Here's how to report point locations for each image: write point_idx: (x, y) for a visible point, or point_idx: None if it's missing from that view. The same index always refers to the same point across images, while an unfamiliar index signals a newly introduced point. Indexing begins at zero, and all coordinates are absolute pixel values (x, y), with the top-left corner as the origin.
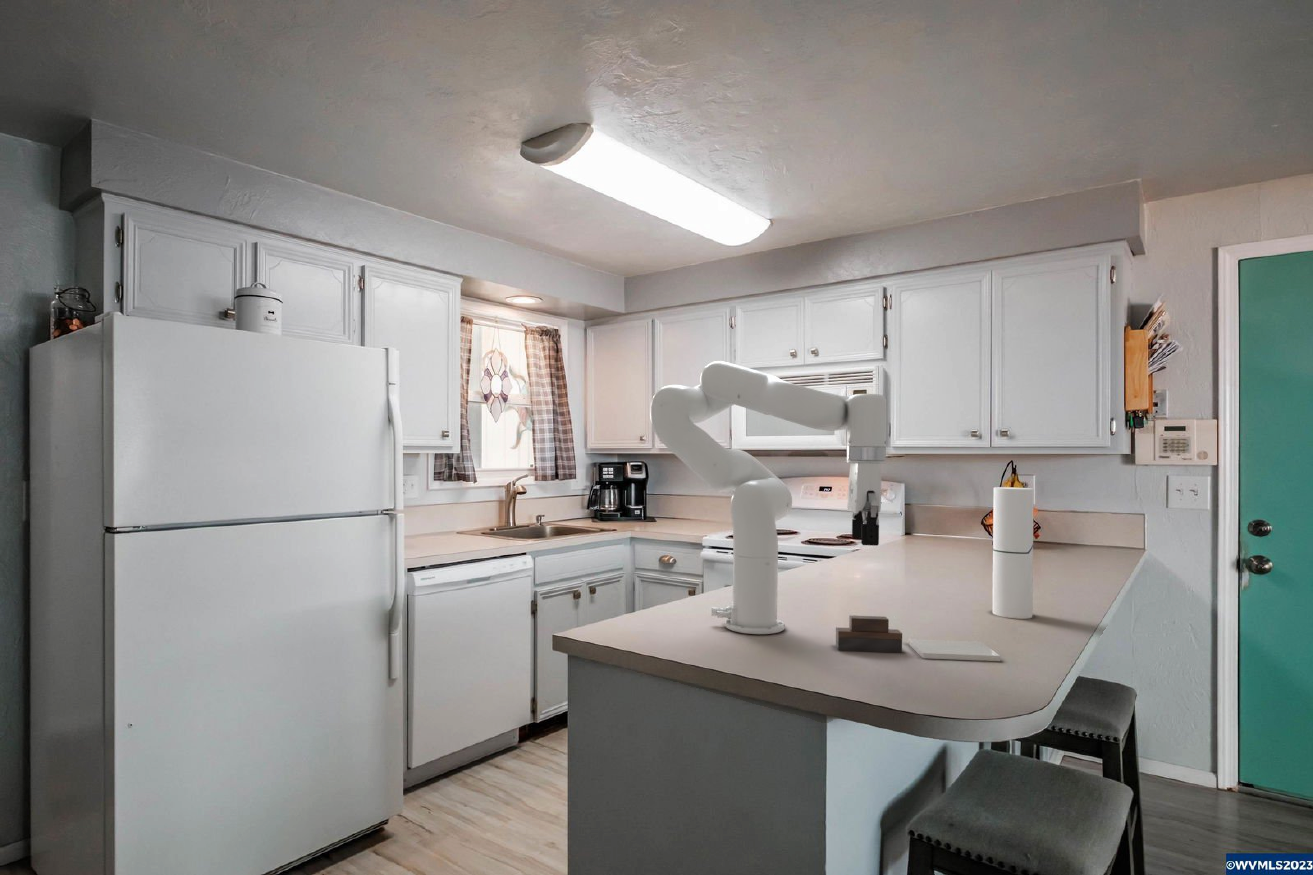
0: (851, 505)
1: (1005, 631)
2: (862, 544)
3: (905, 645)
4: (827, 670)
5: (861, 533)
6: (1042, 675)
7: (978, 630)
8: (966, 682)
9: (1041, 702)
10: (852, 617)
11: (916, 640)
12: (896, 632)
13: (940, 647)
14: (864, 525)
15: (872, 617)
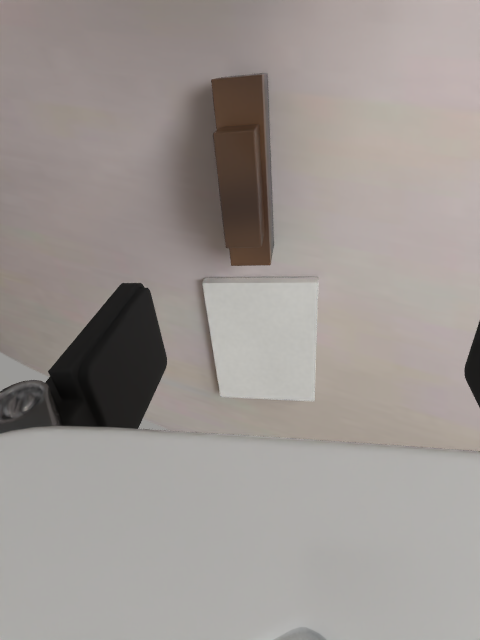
0: (246, 524)
1: None
2: (123, 284)
3: (308, 267)
4: (23, 25)
5: (106, 321)
6: (163, 412)
7: (447, 429)
8: (80, 308)
9: (35, 368)
10: (223, 137)
11: (306, 295)
12: (237, 254)
13: (255, 325)
14: (63, 381)
15: (239, 206)
